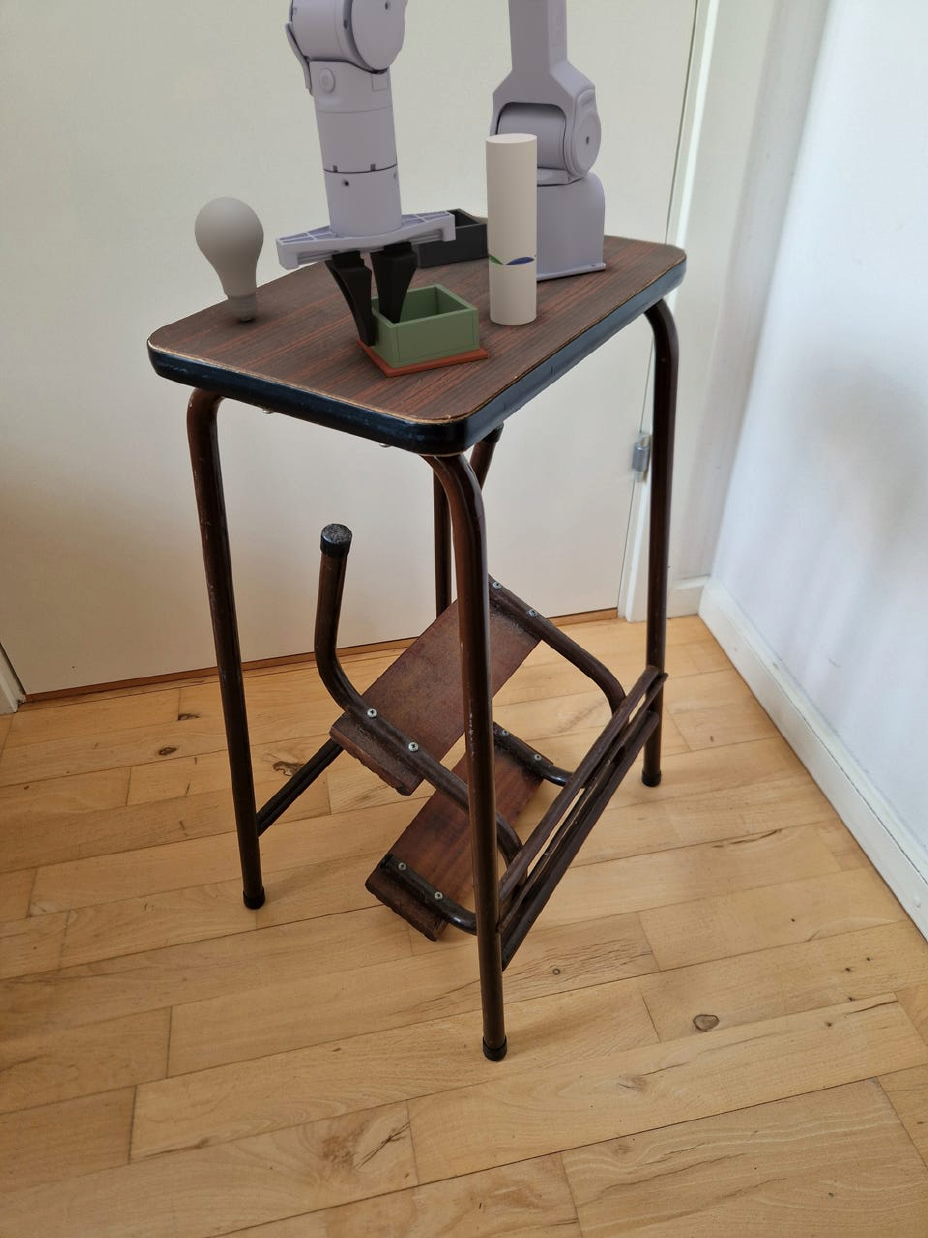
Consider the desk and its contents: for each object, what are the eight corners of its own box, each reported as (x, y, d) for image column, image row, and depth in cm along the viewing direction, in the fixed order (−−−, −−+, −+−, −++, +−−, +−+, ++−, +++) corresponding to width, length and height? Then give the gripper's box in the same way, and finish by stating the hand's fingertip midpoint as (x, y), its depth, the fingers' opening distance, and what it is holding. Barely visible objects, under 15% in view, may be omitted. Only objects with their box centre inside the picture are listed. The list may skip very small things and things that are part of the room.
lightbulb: (264, 332, 83) (240, 206, 76) (204, 330, 84) (175, 206, 77) (287, 310, 88) (267, 189, 81) (229, 308, 89) (205, 189, 82)
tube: (500, 307, 85) (496, 132, 76) (542, 311, 84) (543, 133, 75) (483, 322, 82) (477, 142, 73) (527, 327, 81) (526, 143, 71)
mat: (450, 324, 82) (449, 320, 82) (488, 357, 75) (487, 353, 75) (357, 342, 80) (356, 337, 79) (388, 377, 73) (387, 372, 73)
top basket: (441, 321, 82) (439, 283, 80) (479, 349, 76) (478, 308, 74) (360, 339, 79) (355, 299, 77) (393, 368, 73) (389, 327, 71)
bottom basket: (461, 239, 104) (460, 207, 102) (487, 256, 99) (486, 223, 96) (397, 249, 102) (394, 217, 100) (420, 268, 96) (418, 234, 94)
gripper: (426, 144, 72) (436, 310, 81) (253, 169, 68) (284, 342, 76) (463, 158, 67) (470, 334, 76) (279, 186, 63) (309, 369, 71)
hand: (379, 340), depth 76 cm, fingers closed
